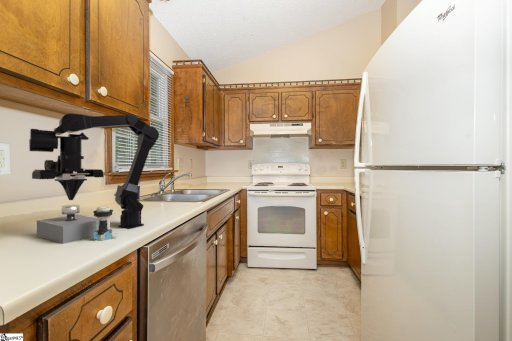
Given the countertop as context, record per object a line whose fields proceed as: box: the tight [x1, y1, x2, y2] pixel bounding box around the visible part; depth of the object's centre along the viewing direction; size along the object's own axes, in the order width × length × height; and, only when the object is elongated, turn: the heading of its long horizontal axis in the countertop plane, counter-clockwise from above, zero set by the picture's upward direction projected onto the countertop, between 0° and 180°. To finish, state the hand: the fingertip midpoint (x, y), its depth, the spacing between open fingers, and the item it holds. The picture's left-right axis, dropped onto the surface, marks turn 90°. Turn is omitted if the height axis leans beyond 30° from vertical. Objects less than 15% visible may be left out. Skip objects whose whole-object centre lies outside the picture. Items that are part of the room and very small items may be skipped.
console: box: [36, 214, 100, 244], centre depth 84 cm, size 12×16×5 cm
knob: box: [61, 204, 81, 221], centre depth 84 cm, size 5×5×8 cm
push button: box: [92, 206, 118, 242], centre depth 80 cm, size 7×5×10 cm
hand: (71, 200), depth 84 cm, fingers closed
